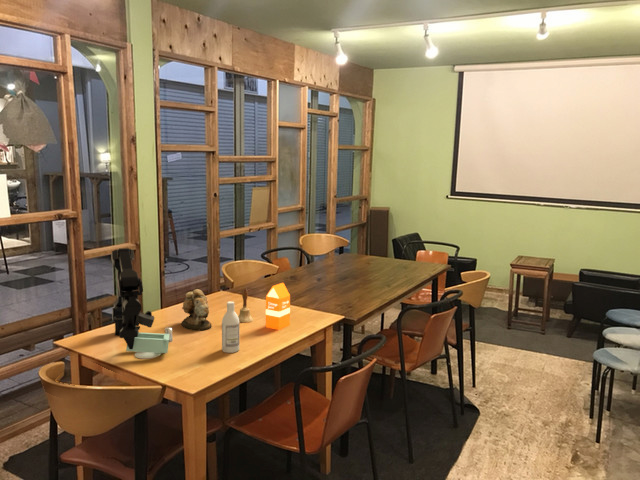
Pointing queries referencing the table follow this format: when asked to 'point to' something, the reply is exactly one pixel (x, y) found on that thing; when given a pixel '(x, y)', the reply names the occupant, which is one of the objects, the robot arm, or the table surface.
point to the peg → (169, 331)
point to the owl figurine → (196, 311)
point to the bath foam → (230, 330)
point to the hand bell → (245, 309)
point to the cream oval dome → (146, 355)
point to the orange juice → (278, 307)
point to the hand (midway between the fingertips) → (131, 348)
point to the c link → (150, 343)
